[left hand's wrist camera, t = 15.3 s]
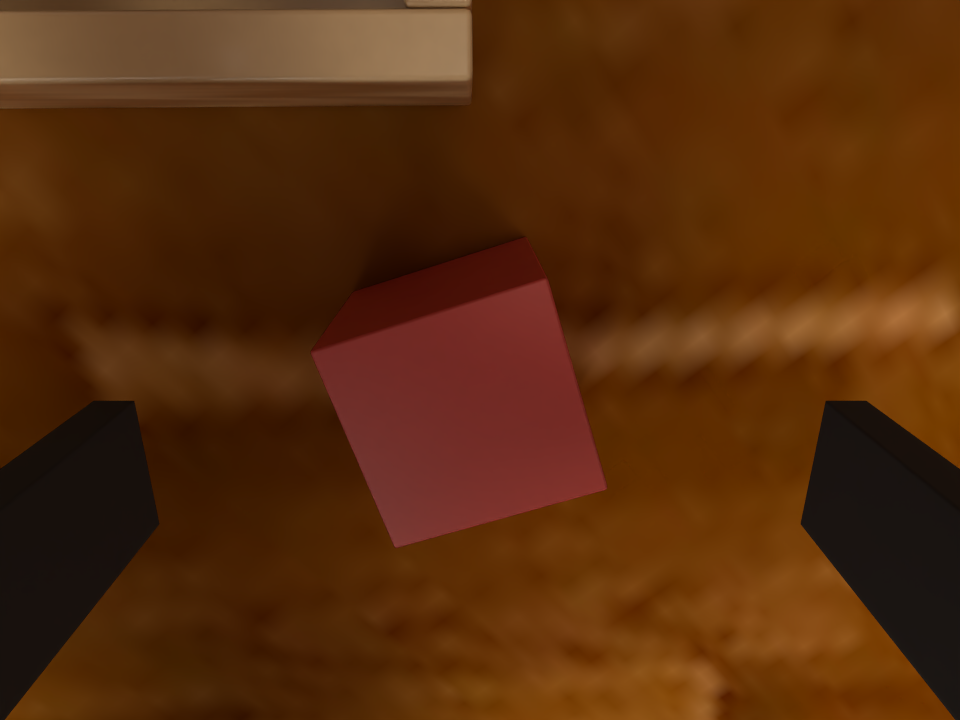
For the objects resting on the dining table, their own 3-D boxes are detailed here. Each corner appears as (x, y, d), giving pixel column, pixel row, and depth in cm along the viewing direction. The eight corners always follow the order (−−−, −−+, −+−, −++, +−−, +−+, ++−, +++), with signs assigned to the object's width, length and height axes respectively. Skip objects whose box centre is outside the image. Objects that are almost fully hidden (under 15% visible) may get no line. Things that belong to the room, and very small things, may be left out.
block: (526, 235, 19) (547, 277, 14) (574, 399, 20) (608, 490, 15) (351, 291, 19) (308, 351, 14) (412, 446, 21) (394, 549, 16)
